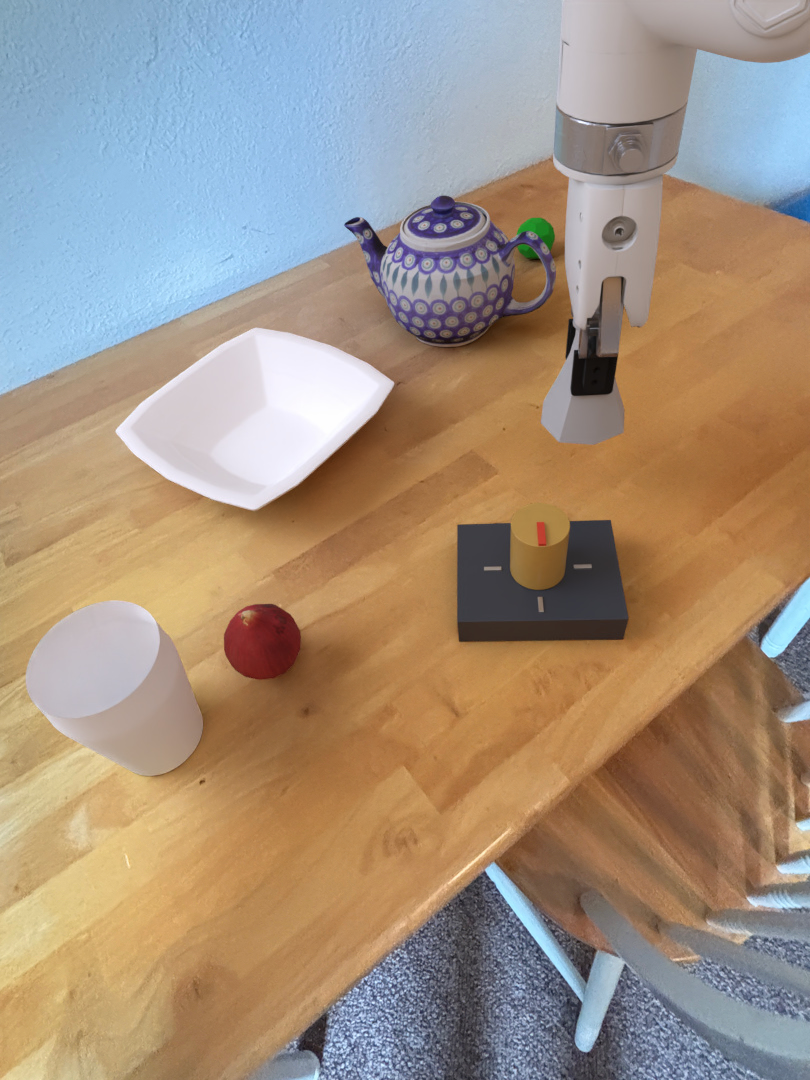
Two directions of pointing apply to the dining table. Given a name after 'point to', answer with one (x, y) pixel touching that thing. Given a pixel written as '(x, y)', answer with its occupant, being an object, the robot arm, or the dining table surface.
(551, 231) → the polyhedron
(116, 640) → the cup
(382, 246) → the teapot
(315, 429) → the bowl
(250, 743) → the dining table surface
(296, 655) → the onion
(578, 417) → the flask
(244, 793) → the dining table surface
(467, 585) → the panel
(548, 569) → the yellow dial knob
